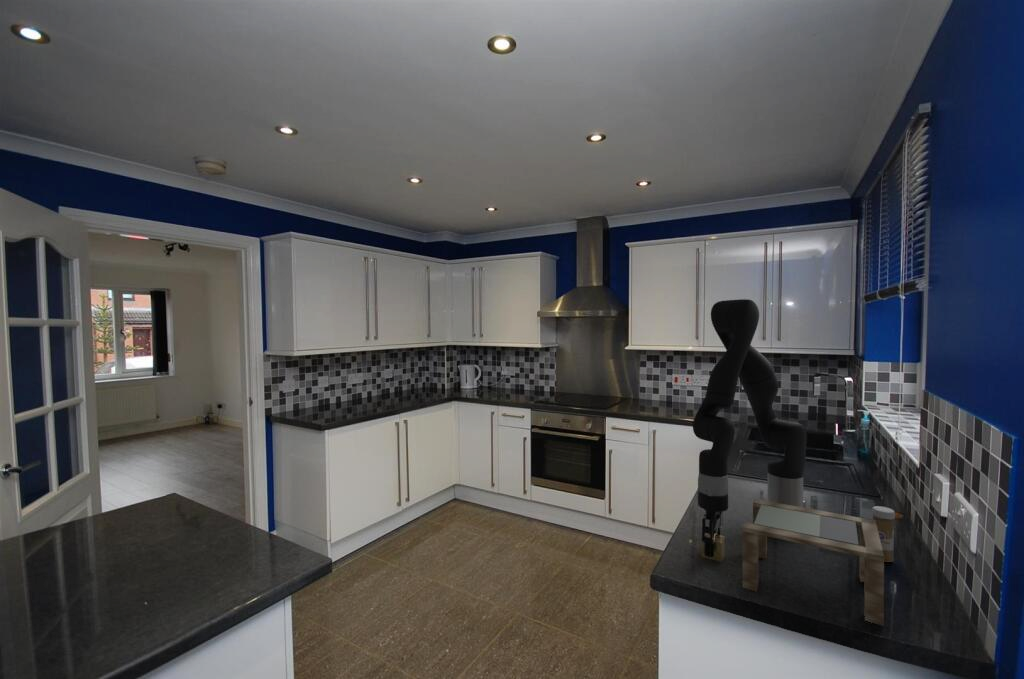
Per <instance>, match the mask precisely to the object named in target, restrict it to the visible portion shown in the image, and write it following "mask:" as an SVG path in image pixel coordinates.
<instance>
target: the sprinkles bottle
mask: <svg viewBox="0 0 1024 679" xmlns="http://www.w3.org/2000/svg"><path fill="white" fill-rule="evenodd" d="M895 515H896V512H895V510H893V509H891V508H889V507H886V506H881V505H880V506H879V505H878V506H877V505H875V506H873V507H872V517H873V518H872V520H875V521H876V525H877V529H878V533H879V537H880V542H881V546H882V550H883V554H884V562H892V563H894V562H895V559H894V550H895V549H894V548H895V543H894V542H895V541H894V540H895V539H894V538H895V535H894V534H895V529H894V528H895V518H896V516H895ZM893 561H894V562H893Z"/></svg>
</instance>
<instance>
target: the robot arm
mask: <svg viewBox="0 0 1024 679" xmlns="http://www.w3.org/2000/svg"><path fill="white" fill-rule="evenodd" d="M710 319H711V325H712V326H713V329H714V331H715V333H716V334H717V336H718V338H719V339H720V341H721V343H722V345H723V346H724V349H725V350H726V351H725V352H724V354H723V355H722V357H721V358H719V360H718V361H717V363H716V364H715V366H714V367H713V369H712V371H711V372H710V374H709V378H708V382H707V387H706V392H705V397H704V398H703V401H702V402H701V404H700V407H699V408H698V410H697V412H696V414H695V416H694V418H693V423H692V430H693V433H694V435H695V437H697V438H698V439H699V440H702V441H706V442H710V443H712V446H711V448H707V449H703V450H701V451H700V452H699V456H698V477H697V506H698V507H699V508H700V509H703V510H704V511H705V513H704V514H703V518H702V519H701V523H702V525H701V526H702V527H701V529H702V530H701V538H702V541H703V542H705V548H704V554H705V555H706V556H709V557H713V556H714V542H715V540H714V539H715V535H721V530H722V526H723V524H724V523H723V512H726V511H728V509H729V479H728V459H729V456H730V453H731V449H732V446H733V442H734V439H735V435H736V431H735V427H734V424H733V422H732V421H731V420H730V419H729V418H726V417H722V416H718V414H719V412H720V411H721V410H727V409H731V408H732V407H733V406H734V405H733V404H734V400H735V396H736V390H737V386H738V382H740V384H741V386H742V388H743V390H744V393H745V395H746V397H747V400H748V402H749V404H750V407H751V410H752V412H753V415H754V416H753V417H754V418H755V421H756V425H757V430H758V433H759V436H760V438H761V441H762V443H763V444H764V446H765V447H767V448H769V449H772V450H774V451H780V452H784V453H783V455H784V456H783V459H779V460H771V461H769V462H768V463H767V501H769V502H774V503H780V504H786V505H791V506H797V507H803V508H807V502H806V501H805V500H804V469H805V466H806V454H807V444H808V443H807V440H808V439H807V438H808V437H807V432H806V431H807V430H806V429H805V427H804V425H803V424H802V423H799V422H795V421H789V420H785V419H779V418H778V417H777V415H776V414H775V411H774V408H773V404H774V401H775V399H776V397H777V394H778V391H779V386H780V385H779V381H778V377H777V376H776V373H775V370H774V368H773V365H772V364H771V362H770V361H769V360H768V359H767V358H766V357H765V356H764V355H763V354H762V353H761V352H760V351H758V350H757V349H756V348H755V347H754V346H753V345H752V341H753V339H754V336H755V334H756V331H757V329H758V325H759V319H760V309H759V306H758V305H757V303H756V302H755V301H753V300H752V299H746V298H743V299H726V300H720V301H717V302H715V303H714V304H713V305H712V307H711V310H710ZM707 533H708V534H710V538H709V537H707Z"/></svg>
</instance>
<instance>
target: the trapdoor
mask: <svg viewBox="0 0 1024 679" xmlns="http://www.w3.org/2000/svg"><path fill="white" fill-rule="evenodd" d="M754 524H755V525H760V526H765V527H770V528H775V529H780V530H784V531H789V532H794V533H799V534H804V535H809V536H814V537H819V538H823V539H828V540H833V541H838V542H843V543H848V544H853V545H858V546H860V543H859V539H858V538H859V537H858V532H857V531H858V530H857V525H856V522H854V521H848V520H843V519H837V518H832V517H826V516H821V515H815V514H810V513H804V512H799V511H793V510H788V509H782V508H777V507H771V506H766V505H761V506H760V509H759V512H758V514H757V517H756V520H755V522H754ZM818 549H819V553H823V554H827V555H831V556H836V557H840V558H846V559H850V560H854V561H858V562H860V556H857V555H852V554H847V553H843V552H838V551H833V550H829V549H824V548H819V547H818Z"/></svg>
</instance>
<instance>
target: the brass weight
mask: <svg viewBox="0 0 1024 679" xmlns="http://www.w3.org/2000/svg"><path fill="white" fill-rule="evenodd" d="M707 537H709V538H710V534H708V533H707ZM700 540H701V541H700V545H701V546H700V548H701V549H700V551H701V554H700V556H701V558H704V559H707V560H712V561H716V562H719V563H722V562H723V559H724V558H725V555H726V542H725V541H726V536H725V535H721V534H720V535H715V539H714V540H715V542H714V556H713V557H709V556H706V555H705V554H704V548H705V542H703V541H702V537H701V539H700Z"/></svg>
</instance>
